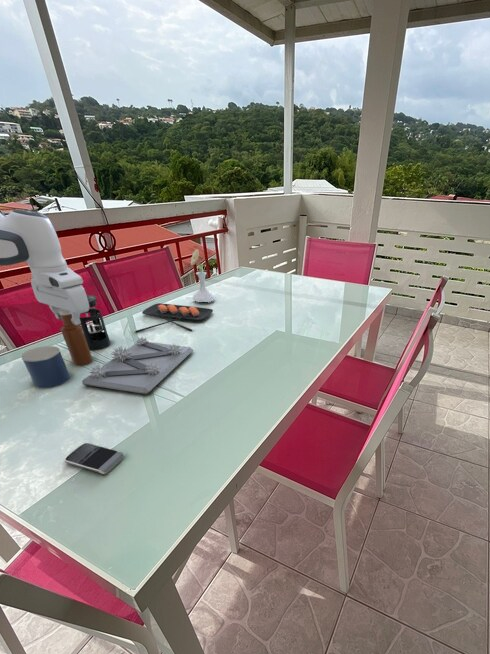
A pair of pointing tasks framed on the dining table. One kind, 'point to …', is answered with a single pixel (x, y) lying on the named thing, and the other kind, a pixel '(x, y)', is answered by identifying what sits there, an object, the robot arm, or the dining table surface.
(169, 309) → the sushi plate
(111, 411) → the dining table surface
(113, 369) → the decorative plate
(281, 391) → the dining table surface
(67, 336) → the bottle
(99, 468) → the cell phone
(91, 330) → the french press
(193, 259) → the flower in vase
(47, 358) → the tin can
